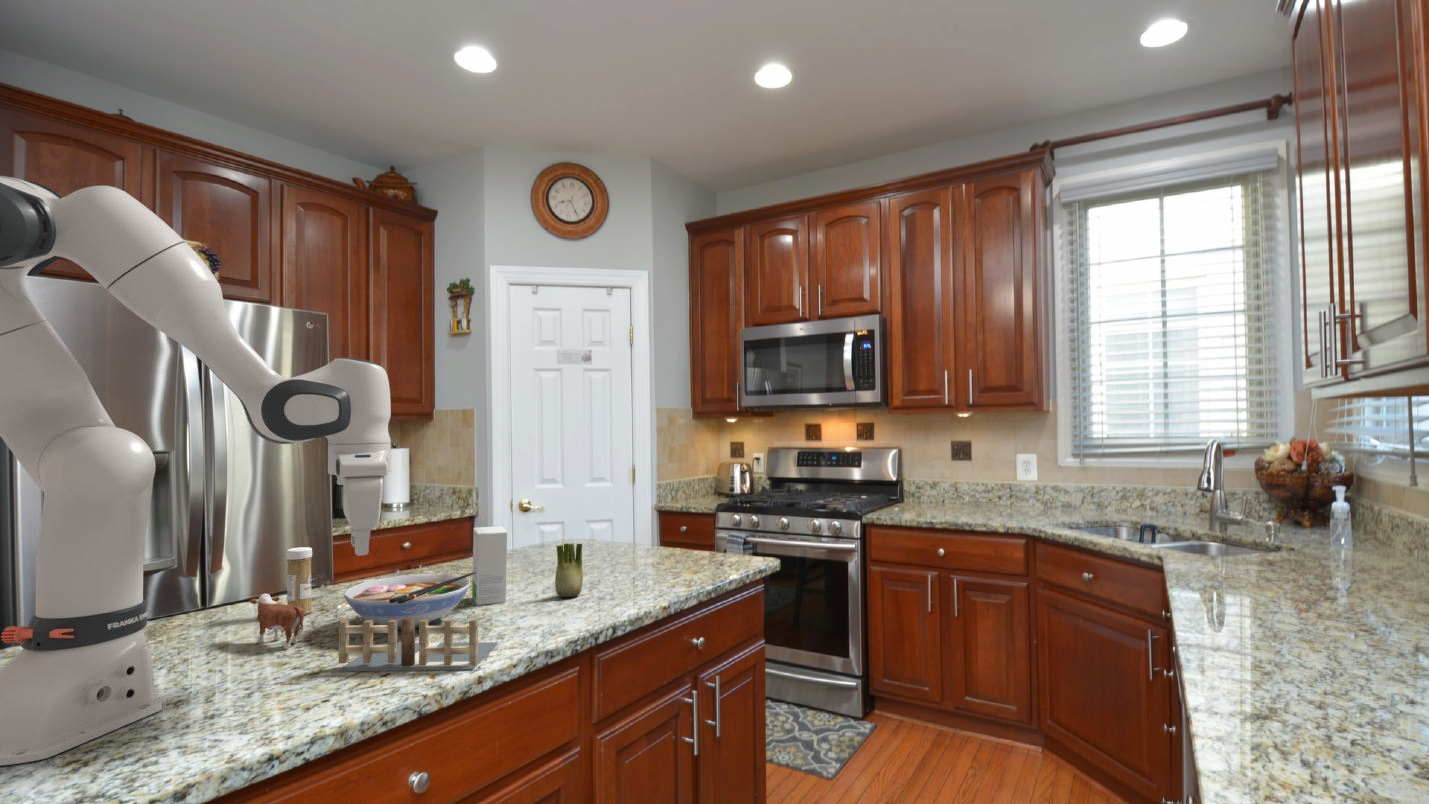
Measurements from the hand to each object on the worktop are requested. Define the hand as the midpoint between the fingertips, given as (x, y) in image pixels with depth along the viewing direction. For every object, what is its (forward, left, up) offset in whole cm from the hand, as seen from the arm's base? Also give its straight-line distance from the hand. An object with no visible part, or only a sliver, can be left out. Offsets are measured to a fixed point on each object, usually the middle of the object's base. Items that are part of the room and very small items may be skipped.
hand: (359, 550), depth 111 cm
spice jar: (+35, +30, -19) cm, 50 cm away
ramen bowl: (+27, +4, -19) cm, 34 cm away
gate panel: (+3, 0, -18) cm, 19 cm away
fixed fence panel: (+3, -13, -19) cm, 23 cm away
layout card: (+8, -7, -19) cm, 22 cm away
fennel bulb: (+47, -23, -20) cm, 56 cm away
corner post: (+3, -6, -19) cm, 20 cm away
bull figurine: (+16, +23, -19) cm, 34 cm away
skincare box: (+45, -6, -19) cm, 50 cm away
